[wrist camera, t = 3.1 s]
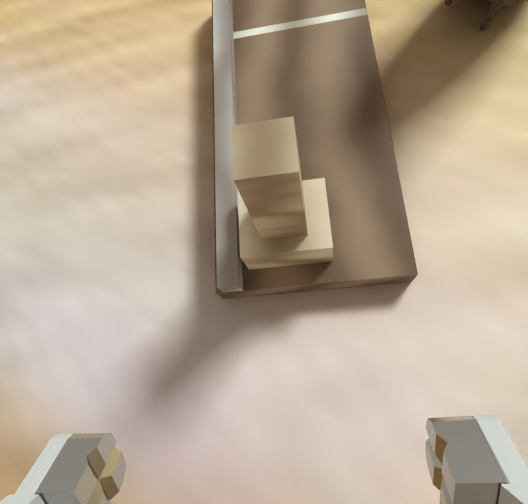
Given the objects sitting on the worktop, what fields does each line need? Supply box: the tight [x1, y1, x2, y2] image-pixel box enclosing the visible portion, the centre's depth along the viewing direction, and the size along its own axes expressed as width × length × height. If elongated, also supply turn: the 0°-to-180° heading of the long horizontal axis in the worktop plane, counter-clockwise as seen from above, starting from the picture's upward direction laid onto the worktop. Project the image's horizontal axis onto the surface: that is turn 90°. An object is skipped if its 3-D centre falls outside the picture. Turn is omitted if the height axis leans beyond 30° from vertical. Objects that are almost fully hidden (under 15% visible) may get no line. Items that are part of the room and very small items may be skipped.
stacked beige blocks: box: [232, 116, 333, 270], centre depth 23 cm, size 6×5×11 cm
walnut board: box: [212, 0, 418, 298], centre depth 32 cm, size 14×30×4 cm, turn 3°
